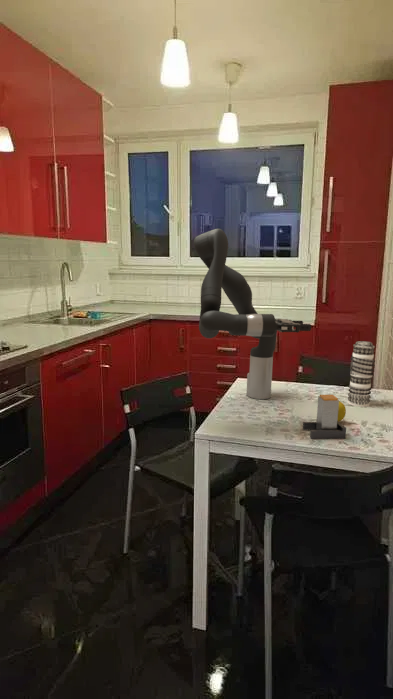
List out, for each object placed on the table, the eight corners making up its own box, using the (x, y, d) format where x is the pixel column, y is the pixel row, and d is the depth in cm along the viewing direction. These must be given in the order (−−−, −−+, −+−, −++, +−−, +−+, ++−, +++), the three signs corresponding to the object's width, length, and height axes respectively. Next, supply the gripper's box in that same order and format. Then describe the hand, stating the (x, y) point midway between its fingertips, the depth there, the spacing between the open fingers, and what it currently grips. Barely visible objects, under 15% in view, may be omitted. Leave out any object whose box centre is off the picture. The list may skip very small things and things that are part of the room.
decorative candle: (341, 402, 183) (347, 341, 179) (355, 398, 189) (360, 339, 184) (361, 408, 176) (367, 344, 172) (375, 404, 182) (381, 342, 177)
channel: (311, 438, 144) (311, 428, 143) (302, 428, 152) (303, 418, 152) (345, 438, 145) (346, 428, 144) (334, 428, 153) (335, 418, 153)
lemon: (342, 426, 156) (344, 403, 154) (326, 423, 159) (328, 401, 157) (346, 421, 160) (348, 400, 159) (330, 418, 163) (332, 397, 162)
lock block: (320, 436, 146) (323, 398, 144) (315, 431, 151) (318, 394, 149) (336, 436, 146) (339, 398, 144) (330, 430, 151) (333, 394, 149)
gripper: (264, 316, 144) (314, 317, 145) (255, 311, 158) (300, 312, 159) (263, 339, 145) (312, 340, 147) (254, 333, 159) (299, 333, 161)
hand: (306, 325), depth 153 cm, fingers open, 8 cm apart
